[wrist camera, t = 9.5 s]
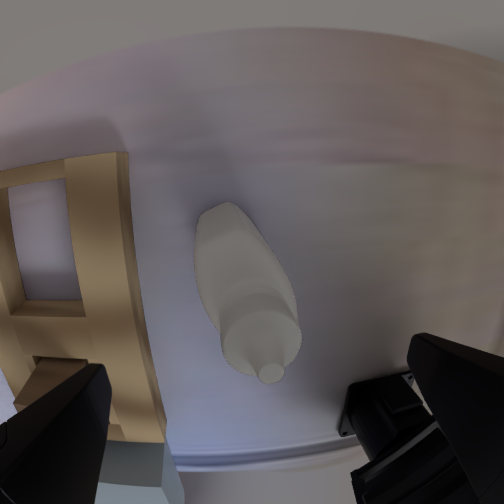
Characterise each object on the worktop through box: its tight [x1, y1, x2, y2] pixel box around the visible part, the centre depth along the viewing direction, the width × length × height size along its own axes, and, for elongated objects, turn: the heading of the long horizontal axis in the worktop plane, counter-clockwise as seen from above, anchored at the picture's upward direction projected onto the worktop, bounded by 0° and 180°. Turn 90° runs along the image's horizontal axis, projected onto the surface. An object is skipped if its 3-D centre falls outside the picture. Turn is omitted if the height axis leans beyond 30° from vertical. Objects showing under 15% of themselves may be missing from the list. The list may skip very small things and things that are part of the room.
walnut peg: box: [13, 356, 89, 412], centre depth 17 cm, size 5×4×7 cm
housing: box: [95, 436, 184, 504], centre depth 21 cm, size 10×7×6 cm
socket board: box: [0, 152, 167, 443], centre depth 18 cm, size 20×12×2 cm, turn 1°
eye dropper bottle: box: [194, 202, 302, 384], centre depth 14 cm, size 4×6×12 cm
